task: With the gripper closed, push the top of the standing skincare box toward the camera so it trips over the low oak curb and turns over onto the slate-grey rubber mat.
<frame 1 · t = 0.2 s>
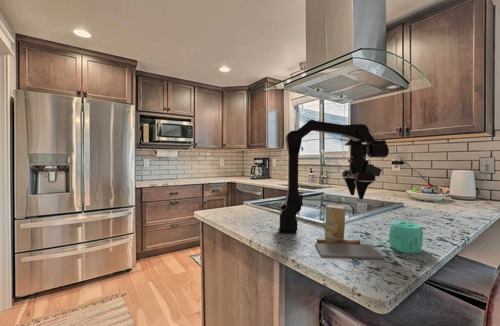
hand: (356, 197, 93), 14 cm above the countertop, fingers open, 9 cm apart
oak curb: (338, 244, 81), on the countertop
skincare box: (334, 240, 85), on the countertop
rubber mat: (346, 251, 75), on the countertop
decorative dice: (405, 249, 78), on the countertop
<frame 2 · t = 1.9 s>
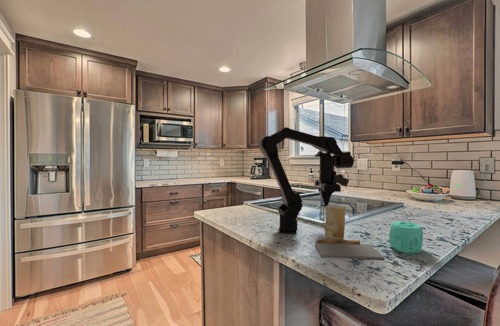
hand: (326, 206, 98), 10 cm above the countertop, fingers closed
nothing on the countertop moved.
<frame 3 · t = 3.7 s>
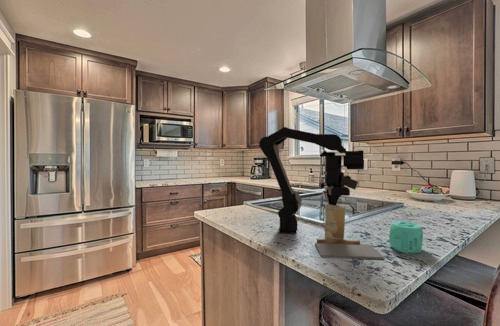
hand: (332, 211, 88), 10 cm above the countertop, fingers closed
skincare box: (334, 240, 85), on the countertop, touching gripper
everything else where it was.
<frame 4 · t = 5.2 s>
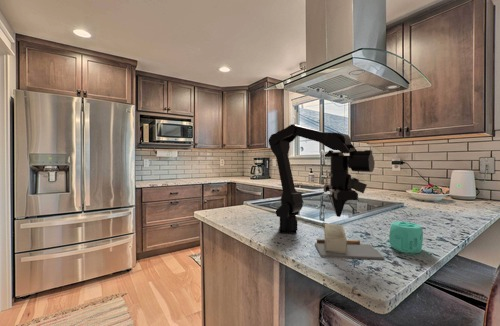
hand: (338, 216, 81), 10 cm above the countertop, fingers closed
skincare box: (334, 229, 84), point 4 cm above the countertop, touching oak curb, rubber mat
everything else where it was.
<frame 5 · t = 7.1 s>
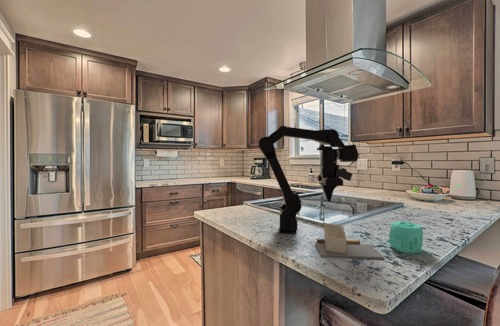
hand: (328, 201, 94), 12 cm above the countertop, fingers closed
nothing on the countertop moved.
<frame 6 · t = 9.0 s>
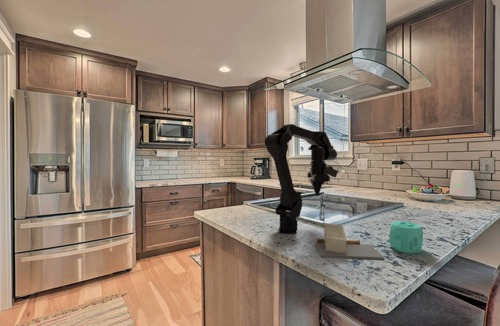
hand: (317, 195, 106), 12 cm above the countertop, fingers closed
nothing on the countertop moved.
at the end: skincare box tilted 96°; skincare box inside the target area (9.6 cm from its centre), point 4.0 cm above the countertop; the gripper is holding nothing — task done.
